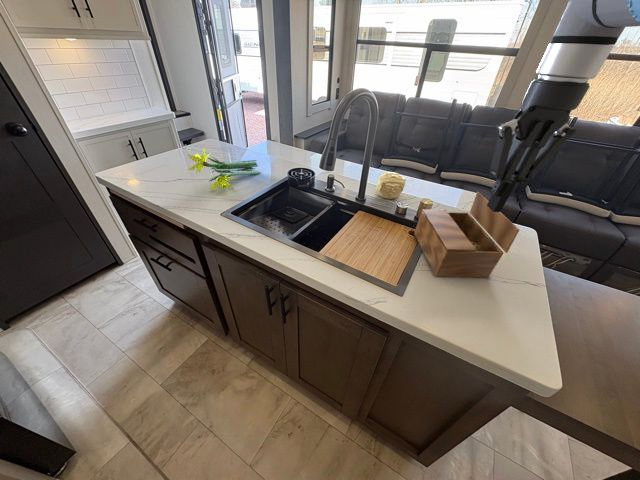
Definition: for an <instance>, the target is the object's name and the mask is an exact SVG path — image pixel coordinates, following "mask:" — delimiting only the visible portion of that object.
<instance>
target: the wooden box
mask: <svg viewBox="0 0 640 480" xmlns="http://www.w3.org/2000/svg"><path fill="white" fill-rule="evenodd" d="M488 202H489V200H488V199H487V198H486V197H485V196H484V195H483V194H481V193H480V192H479V191H477V192H476V194H475V197H474V200H473V203H472V205H471V208H470V210H469V212H464V211H463V212H461V211H460V212H459V211H447V212H448V214H449V215H450V216H451V218H452V219H453V220H454V221H455V223H456V224H457V225H458V227H459V228H460V229H461V230H462V232H463V233H464V234H465V236H466V237H467V238H468V240H469V241H470V242H474V243H476V244H478V245H480V246H481V247H482V249H483V251H448V250H447V249H446V247H445V246H444V244H443V242H442V241H441V239H440V238H439V236H438V235H437V233H436V231H435V230H434V228H433V227H432V225H431V223H430V222H429V220H428V219H427V217H426V215H425V214H424V212H423V211H422V210H421V212H420V214H419V218H418V221H417V224H416V227H415V230H414V234H413V235H414V236H415V238H416V240H417V242H418V244H419V246H420V248H421V250H422V252H423V254H424V256H425V258H426V260H427V262H428V264H429V266H430V268H431V270H432V272H433V274H434V275H435V277H460V278H461V277H465V278H466V277H467V278H489V277H490V275H492V272H493V271H494V269H495V268H496V266H497V265H498V263H499V261H500V260H501V259H502V257H503V255H504V253H505V254H508V253H509V251H510V249H511V246H512V245H513V243H514V241H515V239H516V237H517V235H518V234H519V232H520V228H518V227H517V226H516V225H515V224H514V223H513V222H512V221H511V220H510V219H509V218H508V217H507V216H506V215H505V214H503V213H502V211H501V212H493V211H492V210H491V209H490V208H489V207H488V206H487V204H488ZM420 240H421V242H422V244H423V246H422V245H421V243H420Z"/></svg>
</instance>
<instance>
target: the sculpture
mask: <svg viewBox="0 0 640 480" xmlns="http://www.w3.org/2000/svg"><path fill="white" fill-rule="evenodd" d="M405 185H406V178H405V177H404V176H402V175H401V174H400V173H398V172H395V171H394V172H393V171H387V172H384V173H382V174H381V175H379V177H378V179H377V181H376V185H375V188H376V192H377V194H378V195H379V196H380V197H381V198H383V199H387V200H392V199H395V198H397V197H398V196H400V195H401V194H402V193H403V191H404V188H405Z"/></svg>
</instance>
